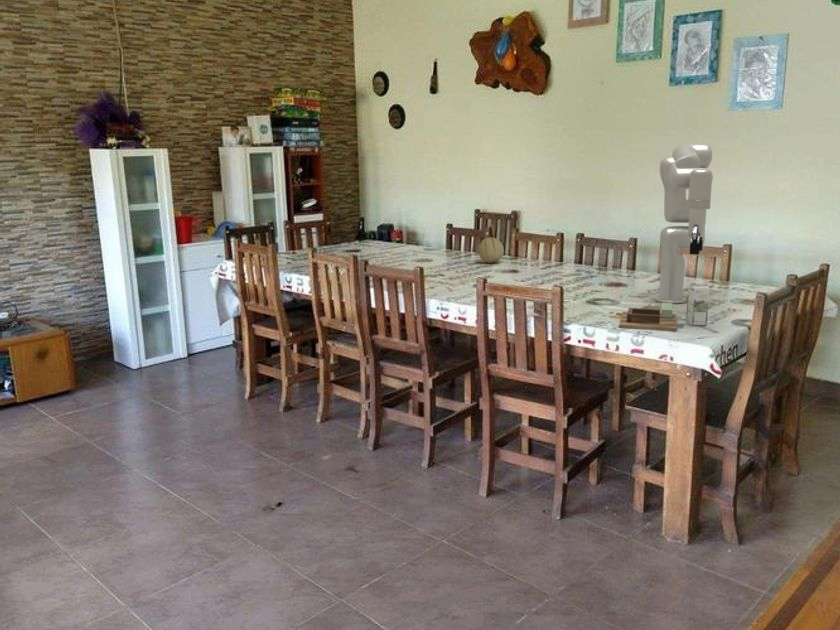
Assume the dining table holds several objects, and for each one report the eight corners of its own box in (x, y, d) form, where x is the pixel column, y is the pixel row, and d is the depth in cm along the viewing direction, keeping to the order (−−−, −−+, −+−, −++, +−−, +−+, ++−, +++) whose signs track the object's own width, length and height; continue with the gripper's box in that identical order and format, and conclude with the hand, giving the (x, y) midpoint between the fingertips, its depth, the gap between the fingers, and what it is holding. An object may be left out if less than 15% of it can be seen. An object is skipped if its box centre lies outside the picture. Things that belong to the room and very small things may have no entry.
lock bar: (661, 309, 287) (661, 302, 287) (672, 310, 286) (672, 302, 286) (660, 317, 275) (661, 309, 275) (672, 317, 274) (672, 310, 274)
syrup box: (700, 322, 273) (703, 284, 270) (707, 326, 267) (710, 287, 264) (685, 322, 273) (688, 284, 269) (691, 326, 267) (694, 287, 264)
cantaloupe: (493, 265, 405) (493, 239, 402) (472, 263, 415) (472, 237, 412) (509, 262, 416) (509, 236, 413) (488, 260, 426) (488, 234, 422)
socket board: (622, 314, 288) (623, 304, 287) (676, 317, 281) (676, 306, 280) (619, 327, 267) (619, 316, 266) (676, 331, 261) (677, 319, 260)
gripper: (690, 202, 268) (687, 248, 272) (684, 206, 253) (681, 255, 257) (712, 202, 265) (709, 249, 269) (707, 206, 250) (704, 256, 254)
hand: (695, 252), depth 263 cm, fingers open, 9 cm apart
